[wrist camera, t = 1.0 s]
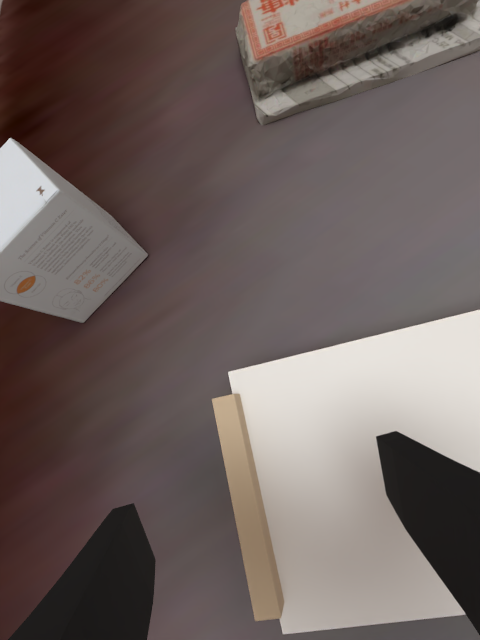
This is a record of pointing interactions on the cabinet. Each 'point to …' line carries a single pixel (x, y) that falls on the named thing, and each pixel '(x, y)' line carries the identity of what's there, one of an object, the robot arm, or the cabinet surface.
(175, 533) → the cabinet surface
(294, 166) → the cabinet surface
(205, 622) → the cabinet surface
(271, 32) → the packaged product
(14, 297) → the small box
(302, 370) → the lid
